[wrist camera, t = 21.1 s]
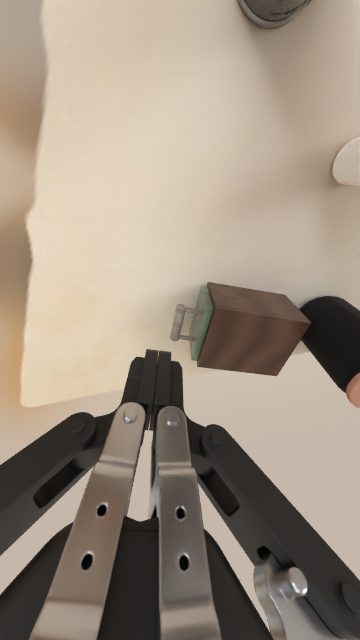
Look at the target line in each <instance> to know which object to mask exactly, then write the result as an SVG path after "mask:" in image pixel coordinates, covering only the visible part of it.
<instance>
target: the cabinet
mask: <svg viewBox="0 0 360 640" xmlns="http://www.w3.org/2000/svg"><path fill="white" fill-rule="evenodd" d="M207 287H208V290H209V293H210V297H211V300H212V304H213V307H214V312H213V315H212V318H211V321H210V325H209V328H208V331H207V334H206V337H205V340H204V343H203V345H202V348H201V351H200V355H199V358H198V361H197V367H204V368H212V369H221V370H229V371H238V372H246V373H255V374H263V375H271V376H277V375H278V374H279V372H280V370H281V369H282V367H283V366H284V364H285V363H286V361H287V360H288V358H289V357H290V355H291V354H292V352H293V350H294V349H295V347H296V346H297V344H298V343H299V341H300V340H301V338H302V337H303V335H304V333H305V332H306V330H307V329H308V327H309V326H310V324H311V322H310V321H309V320H308V319H307V318H306V317H305V316H304V315H303V313H302V312H301V311H300V310H299V309H298V308H297V307H296V306H295V305H294V304H293V303H292V302H291V301H290V300H289V299H288V298H287V296H286V295H282V294H276V293H270V292H264V291H258V290H252V289H246V288H240V287H234V286H228V285H222V284H216V283H210V282H208V284H207Z"/></svg>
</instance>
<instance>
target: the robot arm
mask: <svg viewBox="0 0 360 640" xmlns="http://www.w3.org/2000/svg"><path fill="white" fill-rule="evenodd" d="M308 1H309V0H238V2H239V4H240V6H241V8H242V10H243V12H244V13H245V15H246V16H247V17H248V18H249V19H250V20H251V21H252V22H253V23H255V24H256V25H258V26H261V27H264V28H275V27H279V26H282V25H284V24H286V23H287V22H289V21H290V20H292V19H293V18H294V17H295V16H296V15H297V14H298V13H299V12H300V11H301V10H302V9H303V8H304V7H305V5H306V4H307V3H308ZM310 1H311V0H310ZM310 1H309V2H310ZM308 4H309V3H308ZM308 4H307V5H308ZM157 359H158V361H157ZM150 416H151V419H150ZM149 422H150V428H149V430H151V431H153V440H152V446H151V478H150V498H149V511H148V512H149V513H148V520H145V521H141V522H139V521H136V520H134V519H131V518H129V517H127V513H128V507H129V502H130V497H131V492H132V487H133V482H134V477H135V472H136V467H137V463H138V458H139V453H140V448H141V446H142V443H143V438H144V432H145V430H148V427H149ZM93 466H94V468H93V470H92V473H91V476H90V478H89V481H88V484H87V487H86V489H85V492H84V495H83V498H82V500H81V503H80V506H79V509H78V512H77V514H76V517H75V520H74V522H72V523H71V524H69V525H67V526H66V527H64V528H63V529H62V530H60V531H59V532H58V533H57V534H56V535H54V536H53V537H52V538H51V539H50V540H49V541H48V542H47V543H46V544H45V546H44V547H43V548H42V549H41V550H40V551H39V552H38V553H37V554H36V556H35V557H34V558H33V559H32V560H31V561H30V562H29V563H28V564H27V566H26V567H25V568H24V569H23V570H22V571H21V572H20V573H19V575H18V576H17V577H16V578H15V579H14V580H13V581H12V582H11V583H10V585H9V586H8V587H7V588H6V589H5V590H4V591H3V592H2V594H1V595H0V640H360V581H359V579H358V578H357V577H356V576H355V575H354V573H353V572H352V571H351V570H350V569H349V568H348V567H347V566H346V565H345V564H344V562H343V561H342V560H341V559H340V558H339V557H338V555H337V554H336V553H335V552H334V551H333V550H332V549H331V548H330V547H329V545H328V544H327V543H326V542H325V541H324V540H323V539H322V538H321V536H320V535H319V534H318V533H317V532H316V531H315V530H314V529H313V528H312V526H311V525H310V524H309V523H308V522H307V521H306V520H305V519H304V517H303V516H302V515H301V514H300V513H299V512H298V511H297V510H296V508H295V507H294V506H293V505H292V504H291V503H290V502H289V501H288V500H287V498H286V497H285V496H284V495H283V494H282V493H281V492H280V490H279V489H278V488H277V487H276V486H275V485H274V484H273V483H272V482H271V480H270V479H269V478H268V477H267V476H266V475H265V474H264V473H263V471H262V470H261V469H260V468H259V467H258V466H257V465H256V464H255V462H254V461H253V460H252V459H251V458H250V457H249V456H248V455H247V453H246V452H245V451H244V450H243V449H242V448H241V447H240V446H239V444H238V443H237V442H236V441H235V440H234V439H233V438H232V437H231V436H230V434H229V433H228V432H227V431H226V430H225V429H224V428H223V427H221V426H219V425H215V424H211V425H208V426H206V427H204V426H201V425H199V424H197V423H195V422H193V421H191V420H190V419H189V418H188V417H187V416H186V414H185V412H184V408H183V378H182V367H181V365H180V363H179V362H176V361H171V352H166V351H159V355H158V351H157V350H149V349H146V355H145V358H142V357H136V358H135V359H134V360H133V361H132V362H131V365H130V369H129V373H128V378H127V381H126V385H125V389H124V394H123V397H122V401H121V404H120V405H119V407H118V408H117V409H116V410H115V411H113V412H112V413H110V414H107V415H103V416H99V417H93V416H92V415H91V414H89V413H86V412H80V413H76V414H73V415H71V416H70V417H68V418H67V419H66V420H64V421H62V422H61V423H60V424H58V425H57V426H55V427H54V428H52V429H51V430H50V431H48V432H47V433H46V434H44V435H42V436H41V437H40V438H38V439H37V440H35V441H34V442H33V443H31V444H30V445H28V446H27V447H25V448H24V449H23V450H21V451H20V452H18V453H17V454H15V455H14V456H13V457H11V458H10V459H8V460H7V461H6V462H4V463H3V464H1V465H0V556H1V555H2V554H3V553H4V552H5V551H6V550H7V549H8V548H9V547H10V546H11V545H12V544H13V543H14V542H15V541H16V540H17V539H18V538H19V537H20V536H21V535H23V534H24V533H25V532H26V531H27V530H28V529H29V528H30V527H31V526H32V525H33V524H34V523H35V522H36V521H37V520H38V519H39V518H40V517H41V516H42V515H43V514H44V513H45V512H46V511H47V510H48V509H49V508H51V507H52V506H53V505H54V504H55V503H56V502H57V501H58V500H59V499H60V498H61V497H62V496H63V495H64V494H65V493H66V492H67V491H68V490H69V489H70V488H71V487H72V486H74V485H75V483H77V482H78V481H79V480H80V478H82V477H83V476H84V475H85V474H86V473H87V472H88V471H89V470H90V469H91V468H92V467H93ZM198 483H199V485H200V486H201V488H202V489H203V491H204V492H205V494H206V495H207V497H208V498H209V500H210V501H211V503H212V504H213V506H214V507H215V508H216V510H217V511H218V513H219V514H220V516H221V517H222V519H223V520H224V522H225V523H226V525H227V526H228V528H229V529H230V531H231V532H232V534H233V535H234V537H235V538H236V540H237V541H238V542H239V544H240V545H241V547H242V548H243V550H244V551H245V553H246V554H247V556H248V557H249V559H250V560H251V562H252V563H253V565H254V566H255V568H254V574H253V577H254V578H253V580H254V587H255V592H256V595H257V598H258V600H259V602H260V604H261V606H262V608H263V610H264V612H265V615H266V617H267V621H268V624H269V628H270V632H269V630H268V629H267V627H266V625H265V624H264V622H263V620H262V618H261V617H260V615H259V613H258V612H257V610H256V608H255V607H254V605H253V603H252V601H251V600H250V598H249V596H248V595H247V593H246V591H245V590H244V588H243V586H242V585H241V583H240V581H239V579H238V578H237V576H236V574H235V573H234V571H233V569H232V567H231V566H230V564H229V562H228V561H227V559H226V557H225V555H224V554H223V552H222V550H221V549H220V547H219V545H218V544H217V542H216V541H215V540H214V538H213V537H212V536H211V535H210V534H209V533H208V532H207V531H206V530H205V529H204V527H203V520H202V512H201V504H200V496H199V489H198Z"/></svg>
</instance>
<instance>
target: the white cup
mask: <svg viewBox="0 0 360 640" xmlns="http://www.w3.org/2000/svg"><path fill="white" fill-rule="evenodd" d="M332 172H333V177H334V179H335V180H336V181H337V182H338V183H340V184H344V185H356V186H360V136H358V137H356V138H354V139H352V140H350V141H349V142H347V143H346V144H345V145H344V146H343V147H342V148H341V150H340V151H339V152H338V154H337V156H336V158H335V160H334V163H333V169H332Z"/></svg>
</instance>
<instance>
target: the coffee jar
mask: <svg viewBox="0 0 360 640" xmlns="http://www.w3.org/2000/svg"><path fill="white" fill-rule="evenodd" d="M300 311H301V312H302V313H303V315H304V316H305V317H306V318H307V319H308V320H309V321H310V322H311V324H310V326H309V327H308V329H307V330H306V332H305V333H304V335H303V337H302V338H301V340H302V341H303V343H304V344H305V345H306V346H307V348H308V349H309V350H310V352H311V353H312V354H313V355H314V357H315V358H316V359H317V361H318V362H319V363H320V364H321V366H322V367H323V368H324V369H325V371H326V372H327V373H328V374H329V376H330V377H331V378H332V380H333V381H334V382H335V383H336V385H337V386H338V387H339V388H340V389H341V390H342V391H344V392H345V393H346V394H347V398H348V399H349V401H350V402H351V403H352V404H353V405H355V406H356V407H359V408H360V311H359V310H358V309H357V308H355V307H354V306H352V305H351V304H350V303H348V302H347V301H345V300H344V299H341V298H339V297H332V296H326V297H320V298H316V299H314V300H312V301H310V302H308V303H307V304H305V305H304V306H303V307H302V308H301V309H300Z"/></svg>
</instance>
